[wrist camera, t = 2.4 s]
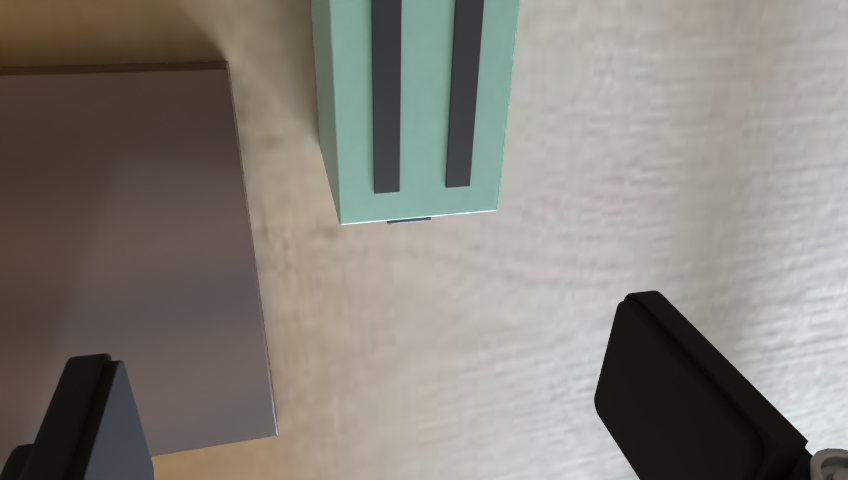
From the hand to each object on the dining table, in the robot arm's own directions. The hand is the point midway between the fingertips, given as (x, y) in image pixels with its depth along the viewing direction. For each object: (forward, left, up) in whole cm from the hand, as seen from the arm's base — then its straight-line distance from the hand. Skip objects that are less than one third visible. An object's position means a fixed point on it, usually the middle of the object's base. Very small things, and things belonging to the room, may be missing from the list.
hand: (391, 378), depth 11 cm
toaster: (-2, +3, -18) cm, 18 cm away
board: (+9, -13, -18) cm, 24 cm away
